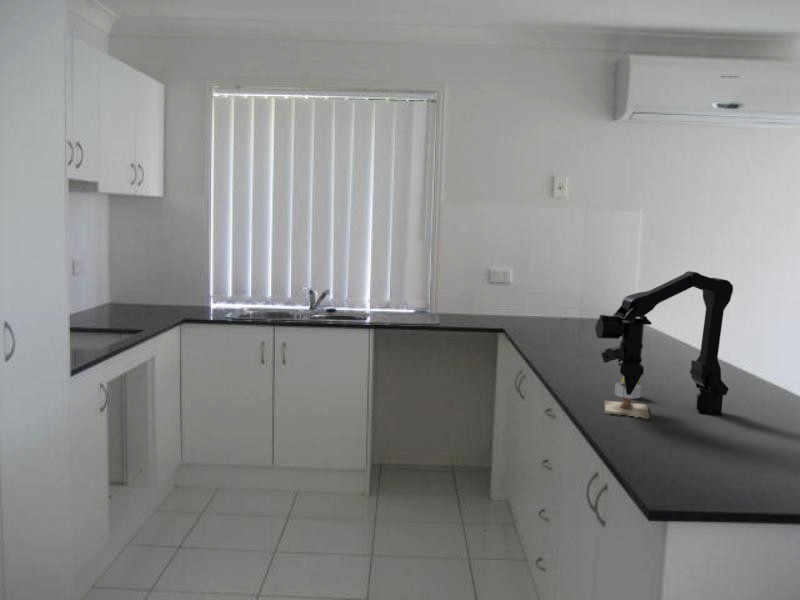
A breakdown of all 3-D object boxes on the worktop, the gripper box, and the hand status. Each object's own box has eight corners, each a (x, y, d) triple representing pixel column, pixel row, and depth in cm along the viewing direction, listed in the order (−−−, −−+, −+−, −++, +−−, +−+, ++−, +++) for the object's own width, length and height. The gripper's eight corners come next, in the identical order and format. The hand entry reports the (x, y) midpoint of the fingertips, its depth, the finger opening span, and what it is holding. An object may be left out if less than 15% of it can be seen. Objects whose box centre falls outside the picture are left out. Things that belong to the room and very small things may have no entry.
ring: (639, 393, 213) (640, 383, 213) (640, 399, 206) (641, 389, 206) (614, 391, 215) (615, 381, 215) (615, 396, 208) (616, 386, 208)
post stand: (646, 407, 216) (647, 388, 215) (649, 418, 204) (651, 398, 203) (604, 403, 218) (606, 384, 218) (605, 413, 207) (606, 393, 206)
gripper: (602, 332, 220) (599, 382, 221) (604, 342, 202) (599, 396, 204) (641, 335, 217) (637, 385, 219) (645, 345, 199) (641, 400, 201)
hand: (627, 391), depth 211 cm, fingers closed on ring, 7 cm apart
